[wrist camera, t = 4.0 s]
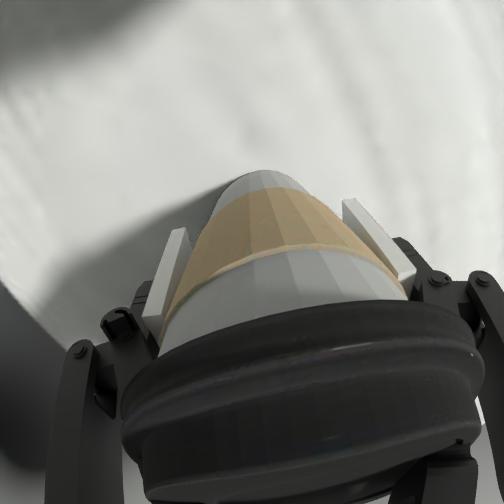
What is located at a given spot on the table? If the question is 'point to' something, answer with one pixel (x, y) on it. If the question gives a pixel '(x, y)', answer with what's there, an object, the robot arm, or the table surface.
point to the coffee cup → (295, 364)
